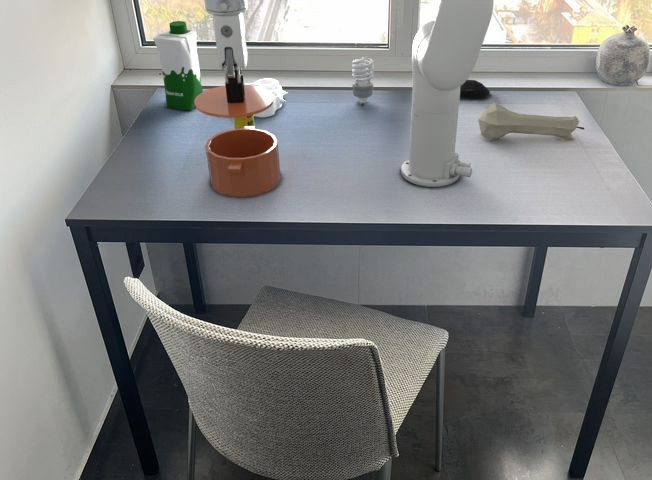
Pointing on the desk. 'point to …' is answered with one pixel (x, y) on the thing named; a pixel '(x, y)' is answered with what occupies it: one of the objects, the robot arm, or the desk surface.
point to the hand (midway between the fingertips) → (236, 98)
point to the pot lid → (217, 105)
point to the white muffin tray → (275, 90)
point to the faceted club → (523, 123)
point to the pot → (243, 162)
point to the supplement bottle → (243, 121)
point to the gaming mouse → (473, 90)
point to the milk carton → (179, 65)
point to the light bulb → (363, 86)
